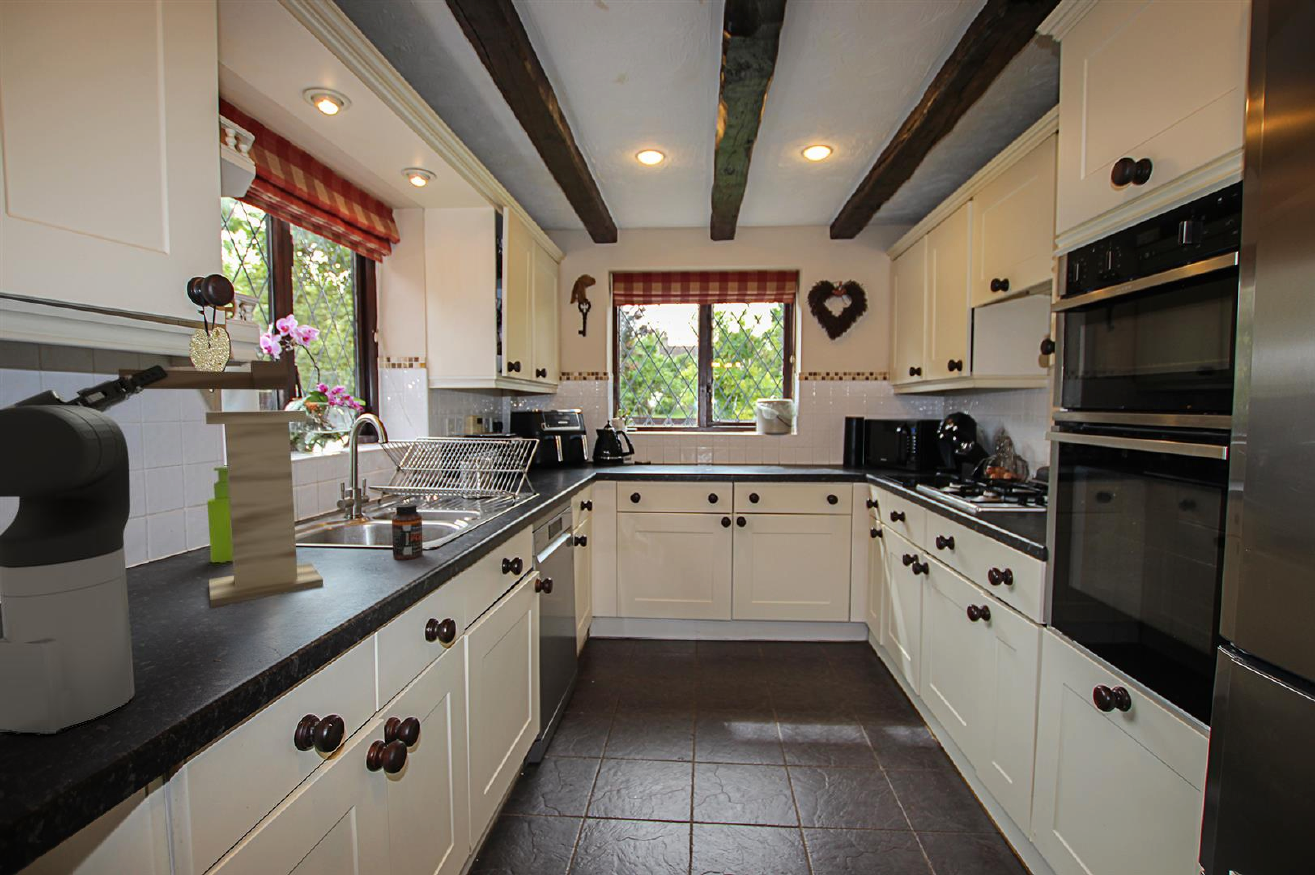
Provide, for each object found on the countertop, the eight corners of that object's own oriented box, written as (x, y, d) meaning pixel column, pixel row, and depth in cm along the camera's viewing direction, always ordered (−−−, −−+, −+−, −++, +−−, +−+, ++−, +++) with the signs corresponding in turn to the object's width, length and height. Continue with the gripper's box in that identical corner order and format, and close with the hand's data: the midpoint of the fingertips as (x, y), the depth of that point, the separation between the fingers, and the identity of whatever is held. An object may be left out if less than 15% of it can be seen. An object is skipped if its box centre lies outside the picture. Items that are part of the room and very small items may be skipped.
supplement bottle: (415, 560, 116) (413, 507, 116) (387, 560, 116) (385, 507, 116) (427, 552, 122) (425, 502, 121) (401, 552, 122) (399, 502, 122)
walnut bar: (288, 389, 100) (286, 361, 99) (118, 388, 86) (116, 355, 85) (284, 389, 103) (283, 363, 103) (122, 388, 89) (120, 357, 89)
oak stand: (323, 585, 101) (314, 410, 99) (210, 607, 90) (198, 412, 88) (311, 568, 111) (302, 410, 109) (209, 585, 101) (198, 411, 99)
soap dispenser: (226, 564, 115) (220, 469, 113) (204, 561, 117) (198, 468, 116) (255, 556, 120) (249, 465, 119) (234, 553, 123) (228, 464, 121)
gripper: (-1, 404, 75) (144, 346, 84) (24, 404, 86) (151, 353, 95) (44, 450, 78) (180, 389, 87) (63, 444, 88) (182, 391, 97)
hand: (164, 370), depth 91 cm, fingers closed on walnut bar, 3 cm apart
